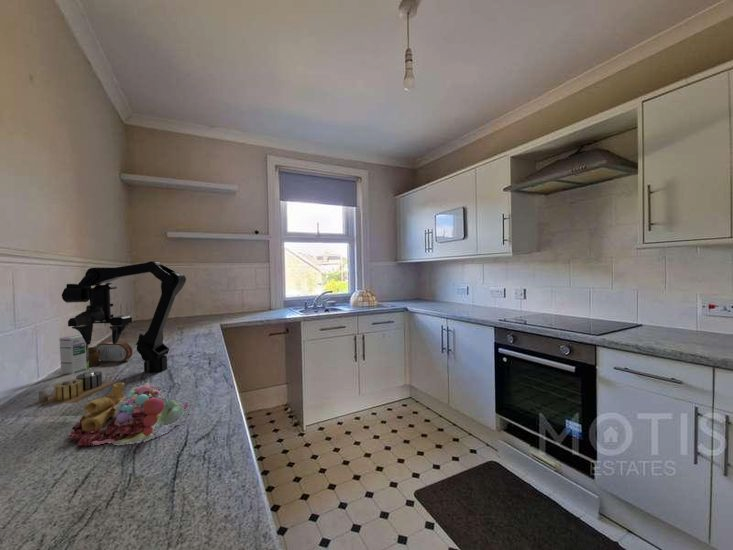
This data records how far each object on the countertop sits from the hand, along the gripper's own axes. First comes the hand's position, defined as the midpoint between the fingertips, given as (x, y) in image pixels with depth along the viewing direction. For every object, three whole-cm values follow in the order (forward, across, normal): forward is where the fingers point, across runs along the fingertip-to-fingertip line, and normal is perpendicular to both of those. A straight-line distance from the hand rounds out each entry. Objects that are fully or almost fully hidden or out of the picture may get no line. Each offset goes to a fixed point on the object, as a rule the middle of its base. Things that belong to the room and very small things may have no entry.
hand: (101, 344), depth 114 cm
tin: (+12, -10, +19) cm, 25 cm away
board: (+12, +6, -17) cm, 22 cm away
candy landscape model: (+13, +36, -35) cm, 52 cm away
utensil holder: (+12, -16, +14) cm, 25 cm away
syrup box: (+12, -13, +4) cm, 18 cm away
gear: (+11, +6, -13) cm, 18 cm away
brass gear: (+11, +6, -20) cm, 24 cm away
